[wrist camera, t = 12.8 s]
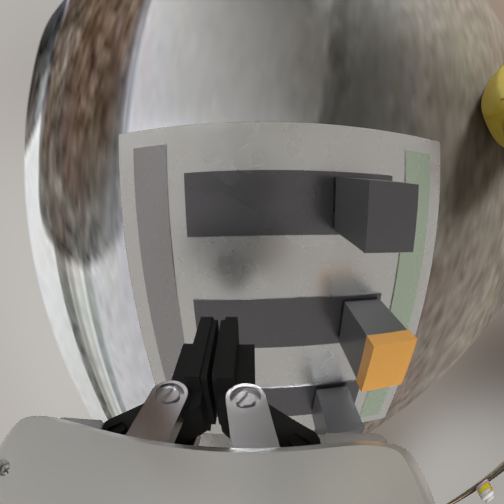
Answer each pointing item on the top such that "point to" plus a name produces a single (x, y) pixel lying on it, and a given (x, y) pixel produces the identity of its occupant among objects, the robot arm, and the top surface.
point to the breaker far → (335, 412)
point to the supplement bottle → (485, 491)
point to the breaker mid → (375, 344)
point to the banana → (494, 106)
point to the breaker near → (376, 214)
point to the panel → (269, 246)
